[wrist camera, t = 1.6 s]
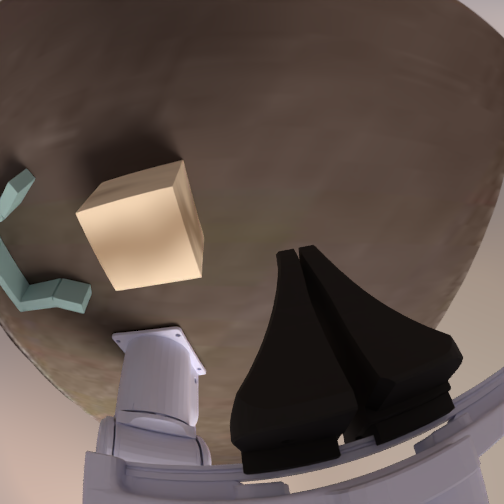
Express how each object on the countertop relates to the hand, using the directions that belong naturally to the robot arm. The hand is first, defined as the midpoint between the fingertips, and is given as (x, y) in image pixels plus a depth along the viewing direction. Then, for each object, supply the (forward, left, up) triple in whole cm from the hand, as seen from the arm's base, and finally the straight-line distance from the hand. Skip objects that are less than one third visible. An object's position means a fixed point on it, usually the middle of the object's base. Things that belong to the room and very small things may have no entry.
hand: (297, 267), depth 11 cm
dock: (0, +22, -8) cm, 24 cm away
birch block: (0, +8, -9) cm, 12 cm away
